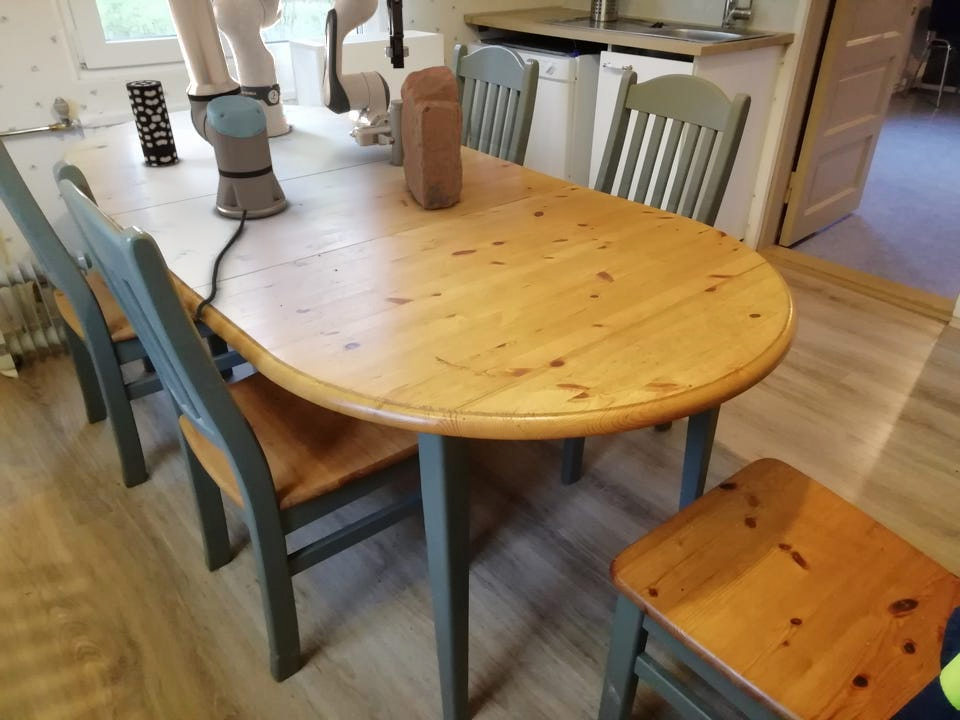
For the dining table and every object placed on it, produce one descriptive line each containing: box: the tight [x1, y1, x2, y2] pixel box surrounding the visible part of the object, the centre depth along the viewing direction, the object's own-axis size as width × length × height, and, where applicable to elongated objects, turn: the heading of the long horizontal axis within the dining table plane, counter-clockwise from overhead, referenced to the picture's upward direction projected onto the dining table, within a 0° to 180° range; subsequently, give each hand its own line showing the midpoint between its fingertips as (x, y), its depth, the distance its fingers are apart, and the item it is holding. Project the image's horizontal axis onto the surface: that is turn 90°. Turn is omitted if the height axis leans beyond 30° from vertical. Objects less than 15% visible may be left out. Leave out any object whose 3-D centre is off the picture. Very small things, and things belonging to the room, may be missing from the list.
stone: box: [400, 65, 464, 210], centre depth 159 cm, size 22×11×28 cm, turn 18°
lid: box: [384, 45, 410, 58], centre depth 173 cm, size 6×6×2 cm
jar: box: [389, 98, 405, 167], centre depth 184 cm, size 5×5×16 cm
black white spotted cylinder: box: [125, 79, 179, 167], centre depth 181 cm, size 8×8×20 cm
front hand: (397, 65), depth 175 cm, fingers closed on lid, 6 cm apart
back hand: (402, 139), depth 184 cm, fingers closed on jar, 5 cm apart
